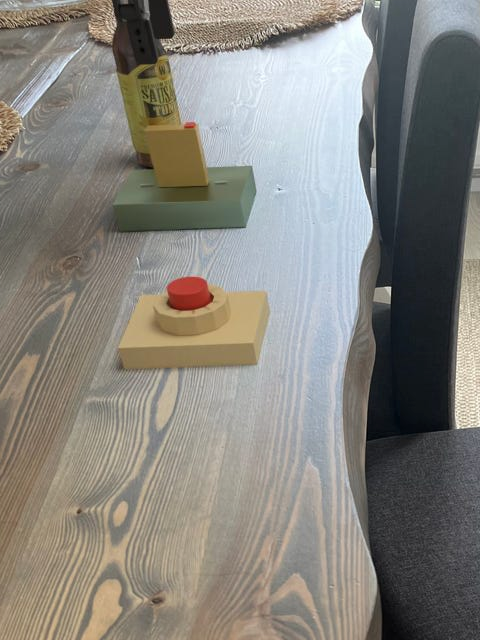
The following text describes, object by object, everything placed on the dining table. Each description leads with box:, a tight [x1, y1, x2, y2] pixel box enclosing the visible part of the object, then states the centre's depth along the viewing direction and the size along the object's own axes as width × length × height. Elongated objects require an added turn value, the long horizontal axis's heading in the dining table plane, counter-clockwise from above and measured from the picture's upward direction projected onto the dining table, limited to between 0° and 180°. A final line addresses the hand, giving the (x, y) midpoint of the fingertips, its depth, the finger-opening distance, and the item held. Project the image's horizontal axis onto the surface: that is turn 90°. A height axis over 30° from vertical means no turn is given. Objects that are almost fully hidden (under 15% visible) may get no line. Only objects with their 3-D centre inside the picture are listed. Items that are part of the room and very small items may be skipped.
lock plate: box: [111, 165, 257, 233], centre depth 114 cm, size 14×10×3 cm
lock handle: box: [145, 121, 209, 187], centre depth 111 cm, size 6×2×6 cm, turn 92°
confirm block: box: [117, 283, 271, 370], centre depth 93 cm, size 12×10×4 cm
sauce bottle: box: [111, 0, 182, 169], centre depth 119 cm, size 6×6×20 cm
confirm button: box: [166, 276, 211, 311], centre depth 91 cm, size 4×4×2 cm
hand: (156, 50), depth 103 cm, fingers open, 8 cm apart
